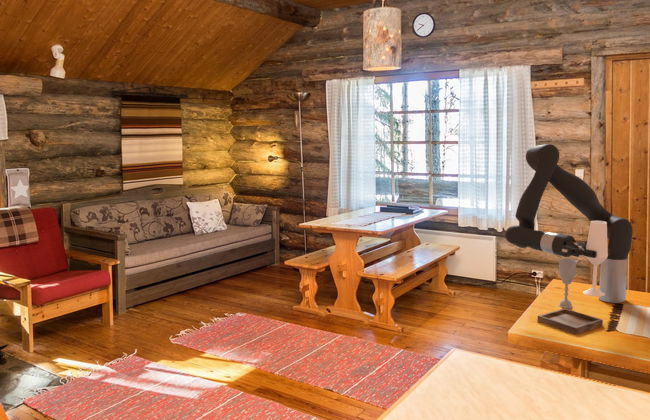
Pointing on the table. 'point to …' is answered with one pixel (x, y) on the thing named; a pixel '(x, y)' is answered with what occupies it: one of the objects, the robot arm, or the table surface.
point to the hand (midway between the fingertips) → (602, 253)
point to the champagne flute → (598, 244)
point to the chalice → (567, 277)
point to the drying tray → (570, 321)
